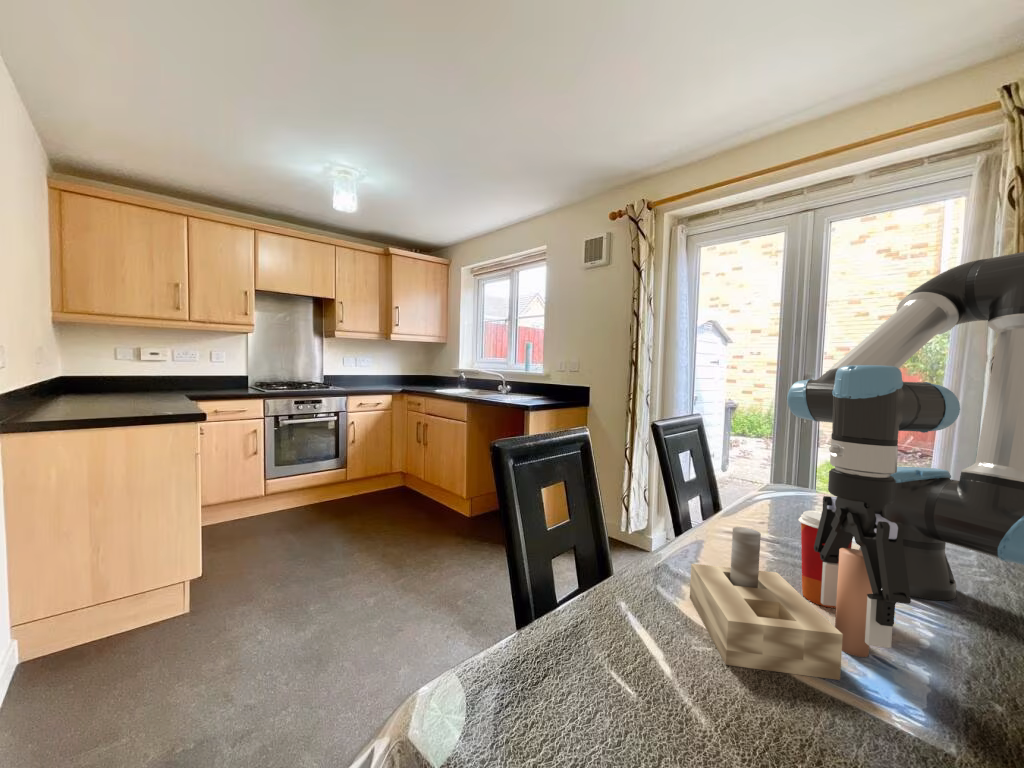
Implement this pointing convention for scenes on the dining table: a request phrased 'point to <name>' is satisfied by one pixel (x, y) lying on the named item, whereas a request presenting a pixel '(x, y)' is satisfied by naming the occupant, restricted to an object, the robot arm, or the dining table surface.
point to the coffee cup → (811, 558)
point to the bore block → (762, 616)
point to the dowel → (852, 601)
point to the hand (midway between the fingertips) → (852, 623)
